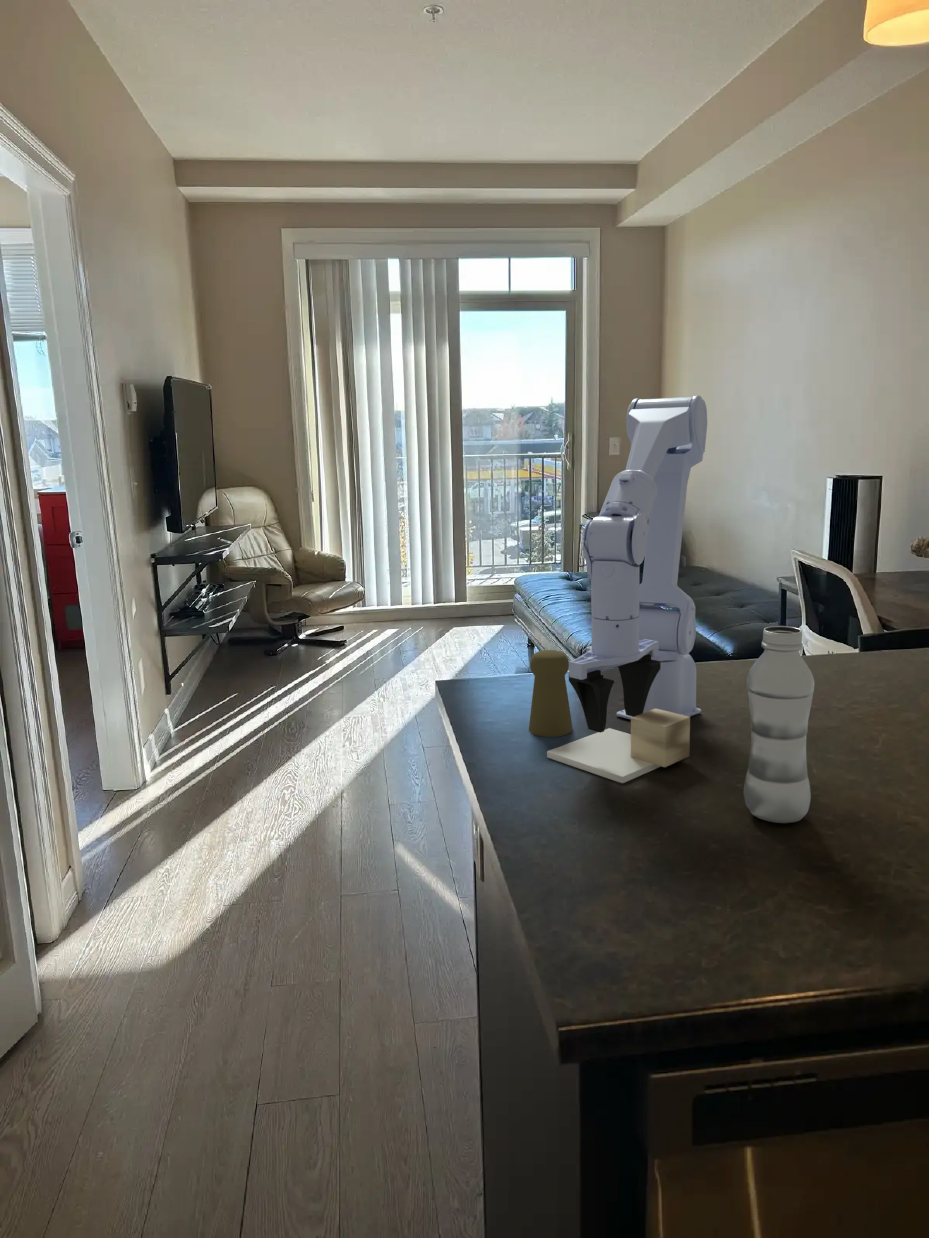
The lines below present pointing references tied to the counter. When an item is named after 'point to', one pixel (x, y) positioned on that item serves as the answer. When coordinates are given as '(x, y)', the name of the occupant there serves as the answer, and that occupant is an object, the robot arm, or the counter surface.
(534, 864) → the counter surface
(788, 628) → the plastic bottle
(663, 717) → the cube
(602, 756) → the plate
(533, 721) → the cork
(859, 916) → the counter surface
